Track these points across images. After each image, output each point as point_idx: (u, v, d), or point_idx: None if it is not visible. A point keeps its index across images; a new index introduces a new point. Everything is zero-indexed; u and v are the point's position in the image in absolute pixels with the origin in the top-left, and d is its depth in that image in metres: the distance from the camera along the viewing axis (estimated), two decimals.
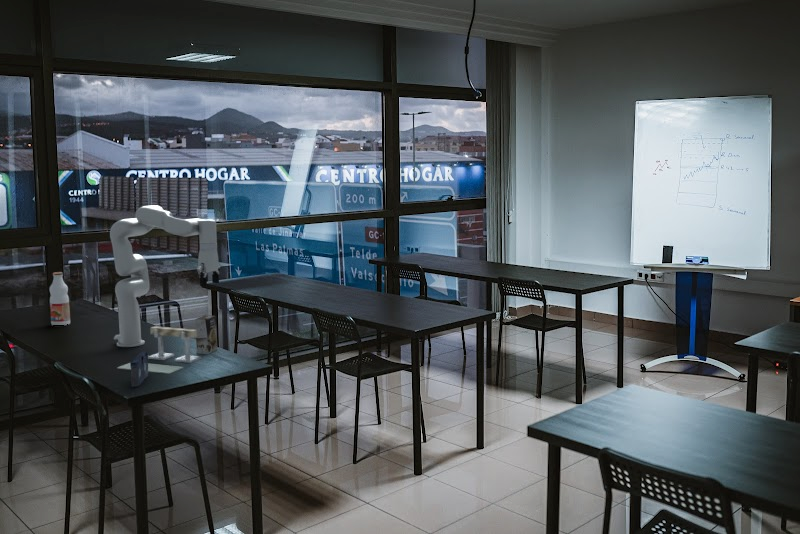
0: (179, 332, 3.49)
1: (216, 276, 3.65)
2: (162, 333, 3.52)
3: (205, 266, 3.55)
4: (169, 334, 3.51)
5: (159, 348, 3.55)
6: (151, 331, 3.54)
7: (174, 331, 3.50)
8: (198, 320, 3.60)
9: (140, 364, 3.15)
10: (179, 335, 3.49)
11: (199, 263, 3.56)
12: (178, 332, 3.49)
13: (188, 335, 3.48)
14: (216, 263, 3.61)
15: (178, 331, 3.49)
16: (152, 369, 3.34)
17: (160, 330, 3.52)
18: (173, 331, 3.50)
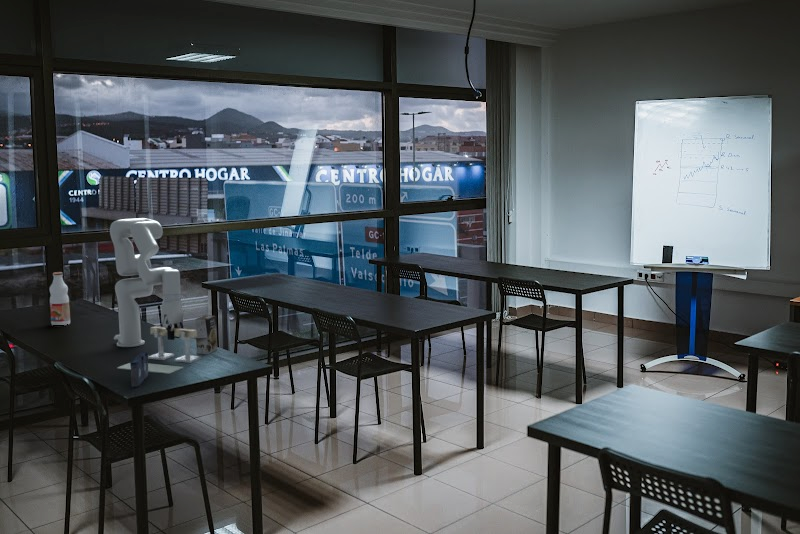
0: (179, 332, 3.49)
1: None
2: (162, 333, 3.52)
3: (168, 318, 3.46)
4: None
5: (159, 348, 3.55)
6: (151, 331, 3.54)
7: (174, 331, 3.50)
8: (198, 320, 3.60)
9: (140, 364, 3.15)
10: (179, 335, 3.49)
11: (162, 314, 3.47)
12: (178, 332, 3.49)
13: (188, 335, 3.48)
14: (180, 314, 3.52)
15: (178, 331, 3.49)
16: (152, 369, 3.34)
17: (160, 330, 3.52)
18: None
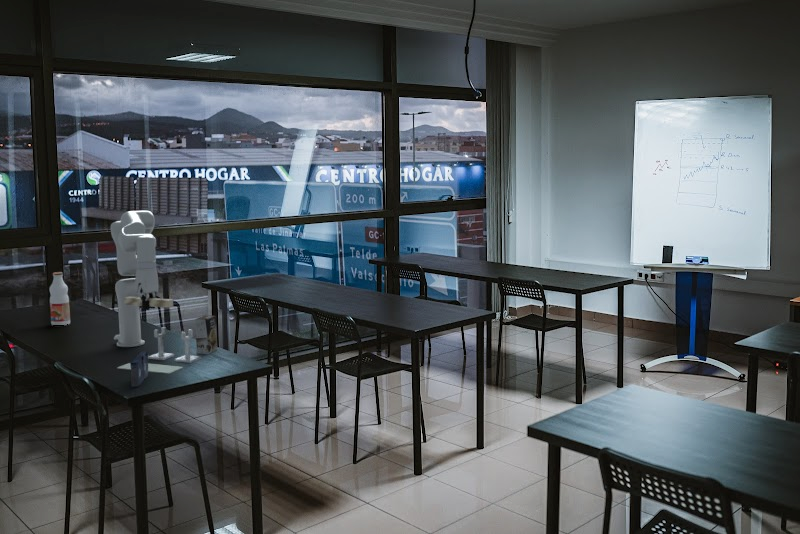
0: (154, 302, 3.32)
1: None
2: (137, 303, 3.35)
3: (142, 286, 3.28)
4: None
5: (159, 348, 3.55)
6: (125, 301, 3.37)
7: (149, 301, 3.32)
8: (198, 320, 3.60)
9: (140, 364, 3.15)
10: (154, 305, 3.32)
11: (136, 283, 3.29)
12: (153, 302, 3.32)
13: (164, 305, 3.30)
14: (155, 283, 3.35)
15: (153, 301, 3.32)
16: (152, 369, 3.34)
17: (134, 300, 3.35)
18: None
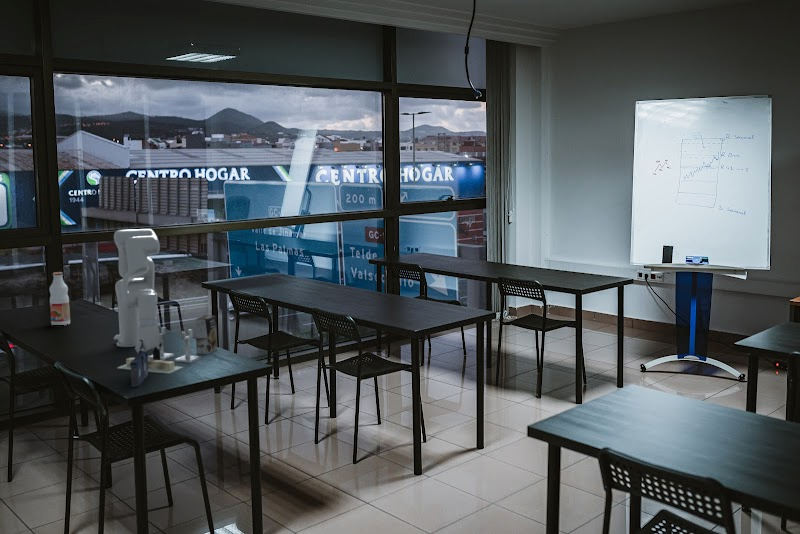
0: (156, 364, 3.34)
1: (157, 353, 3.40)
2: None
3: (144, 343, 3.31)
4: None
5: None
6: (127, 362, 3.39)
7: (151, 363, 3.35)
8: (198, 320, 3.60)
9: (140, 364, 3.15)
10: (156, 367, 3.35)
11: (138, 340, 3.32)
12: (155, 364, 3.35)
13: (165, 367, 3.33)
14: (157, 339, 3.37)
15: (155, 363, 3.35)
16: (152, 369, 3.34)
17: None
18: (150, 363, 3.35)
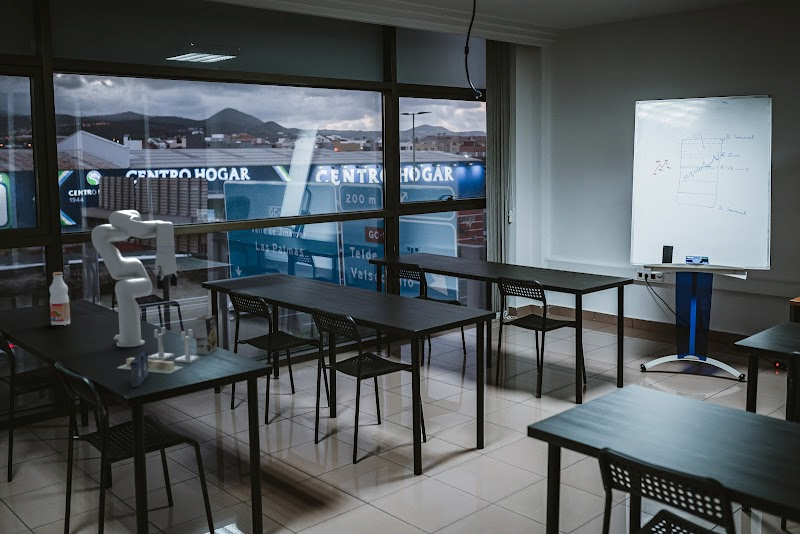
0: (156, 364, 3.34)
1: (174, 279, 3.63)
2: None
3: (162, 269, 3.53)
4: None
5: (159, 348, 3.55)
6: (127, 362, 3.39)
7: (151, 363, 3.35)
8: (198, 320, 3.60)
9: (140, 364, 3.15)
10: (156, 367, 3.35)
11: (156, 266, 3.54)
12: (155, 364, 3.35)
13: (165, 367, 3.33)
14: (174, 266, 3.60)
15: (155, 363, 3.35)
16: (152, 369, 3.34)
17: None
18: (150, 363, 3.35)
